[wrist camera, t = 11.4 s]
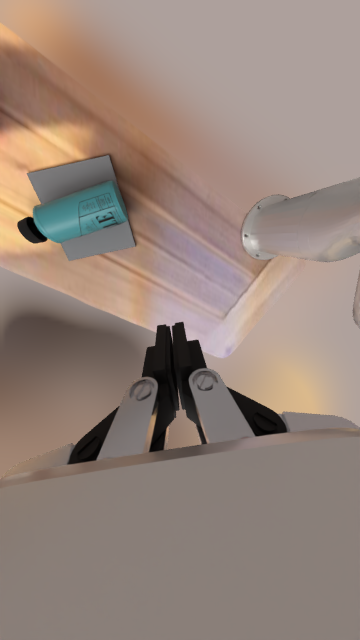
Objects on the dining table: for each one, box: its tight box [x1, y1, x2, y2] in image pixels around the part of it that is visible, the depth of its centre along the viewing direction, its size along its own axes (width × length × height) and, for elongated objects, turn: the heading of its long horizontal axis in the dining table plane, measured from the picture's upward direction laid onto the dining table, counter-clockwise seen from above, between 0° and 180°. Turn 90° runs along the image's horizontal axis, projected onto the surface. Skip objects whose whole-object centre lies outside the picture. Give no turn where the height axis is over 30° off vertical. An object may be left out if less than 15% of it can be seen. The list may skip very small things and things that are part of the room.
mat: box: [27, 155, 136, 261], centre depth 33 cm, size 15×15×1 cm
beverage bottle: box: [17, 180, 128, 243], centre depth 30 cm, size 6×7×20 cm
